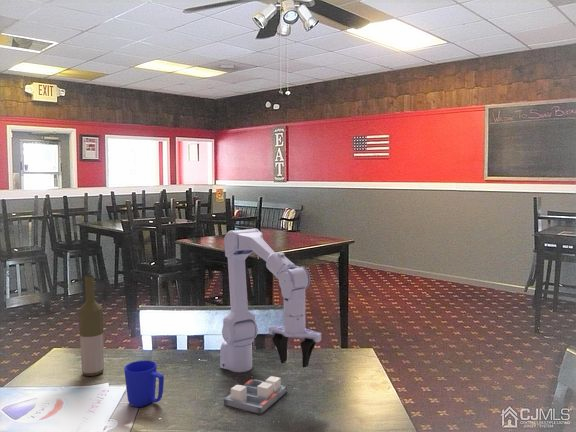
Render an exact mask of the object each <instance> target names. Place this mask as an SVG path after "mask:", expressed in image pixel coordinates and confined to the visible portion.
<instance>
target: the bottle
mask: <svg viewBox="0 0 576 432" xmlns="http://www.w3.org/2000/svg"><path fill="white" fill-rule="evenodd" d="M84 287H85V289H84V290H85V291H84V292H85V301H84V303H83V304H82V305H81V307H80V308H79V309H78V328H79V345H80V346H79V347H80V358H81V360H80V361H81V373H82V375H83V376H89V377H93V376H97V375H101V374H102V373H104V370H105V363H104V362H105V360H104V358H105V357H104V348H105V347H104V309H103V306H102V305H100V303H99V302H97V301H96V299H95V298H96V297H95V296H96V295H95V275H93V274H92V275H91V274H90V275H89V274H88V275H85V276H84Z"/></svg>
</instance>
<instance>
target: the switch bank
mask: <svg viewBox="0 0 576 432" xmlns="http://www.w3.org/2000/svg"><path fill="white" fill-rule="evenodd" d="M262 382H265V383H266V380H265V381H264V380H259V379H255V378H251V379H249V380H248V381H246V382H244V384H243V385H242V386H246V387H247V402H241V401H237V400H233V399H231V393H230V394H229V395H227V396H226V397H225V398H223V404H224V406H229V407H233V408H236V409H240V410H244V411H248V412H252V413H257V414H263V413H264V412H265V411H266V410H267V409H269V407H271V406H272V405H274V404H275V402H277V401H278V400H279V399H281V397H282V396H283V395H285V394H286V393H287V392H288V391H287V390H288V389H287V388H288V386H287V385H282V384H281V388H280V389H279V390H278V391H276V392H273V394H272V395H271V396H269V398H268V399H266V398H262V397H258V396H257V386H258V385H260V384H261V383H262Z"/></svg>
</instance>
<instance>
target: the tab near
mask: <svg viewBox="0 0 576 432" xmlns="http://www.w3.org/2000/svg"><path fill="white" fill-rule="evenodd" d="M230 394H231V399H233V400H237V401H241V402H247V387H246V386H243V385H241V384H235V385H234V386H232V387H231V388H230Z"/></svg>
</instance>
